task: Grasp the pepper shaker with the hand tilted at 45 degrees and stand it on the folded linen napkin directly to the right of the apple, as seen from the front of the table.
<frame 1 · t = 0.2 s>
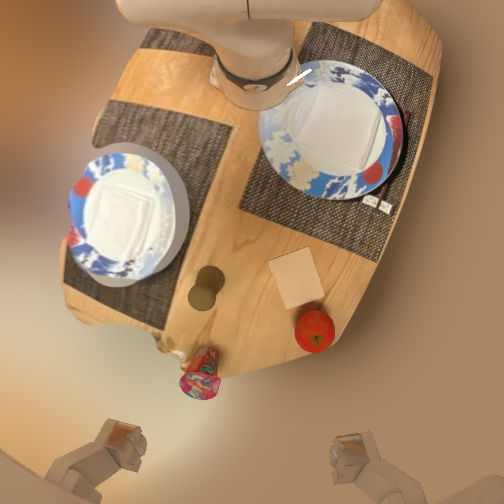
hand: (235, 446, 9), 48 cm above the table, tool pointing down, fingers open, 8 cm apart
apple: (310, 316, 60), on the table
cup: (208, 353, 64), on the table
napkin: (297, 279, 58), on the table
pepper shaker: (210, 279, 59), on the table
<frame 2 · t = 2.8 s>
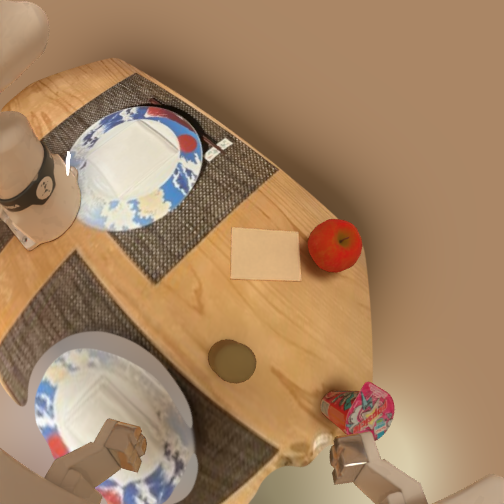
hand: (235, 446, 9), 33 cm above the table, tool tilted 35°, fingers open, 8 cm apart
apple: (318, 257, 49), on the table
cup: (331, 402, 41), on the table
napkin: (266, 254, 47), on the table
pepper shaker: (227, 358, 41), on the table
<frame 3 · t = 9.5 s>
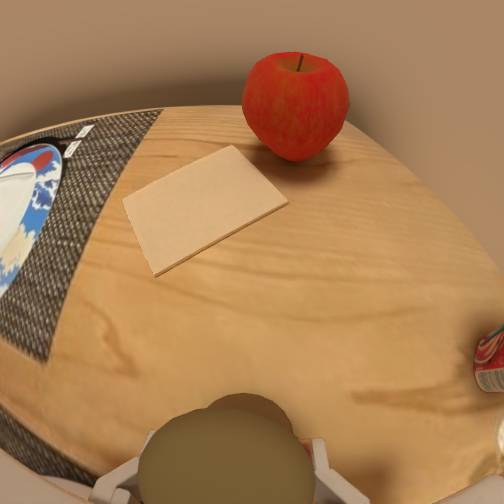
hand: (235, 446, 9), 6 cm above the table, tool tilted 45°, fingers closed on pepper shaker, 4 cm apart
apple: (290, 158, 25), on the table
cup: (487, 362, 15), on the table
napkin: (198, 201, 23), on the table
pepper shaker: (244, 437, 14), on the table, touching gripper
when the fingers open (6 cm above the table, at t = 17.8 s): pepper shaker stays where it is, resting on napkin.
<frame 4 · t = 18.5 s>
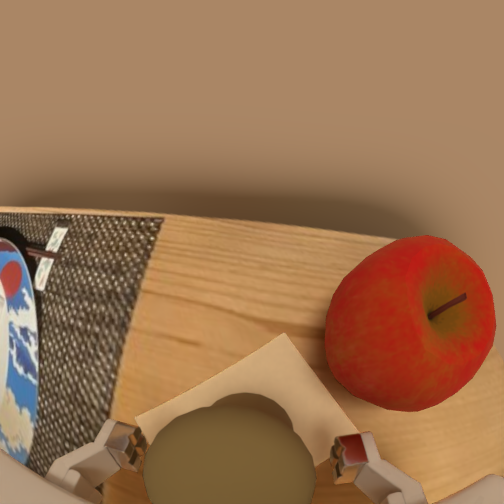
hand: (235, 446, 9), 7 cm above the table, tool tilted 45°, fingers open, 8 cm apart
apple: (364, 350, 17), on the table
napkin: (245, 435, 14), on the table
pepper shaker: (245, 436, 14), resting on napkin
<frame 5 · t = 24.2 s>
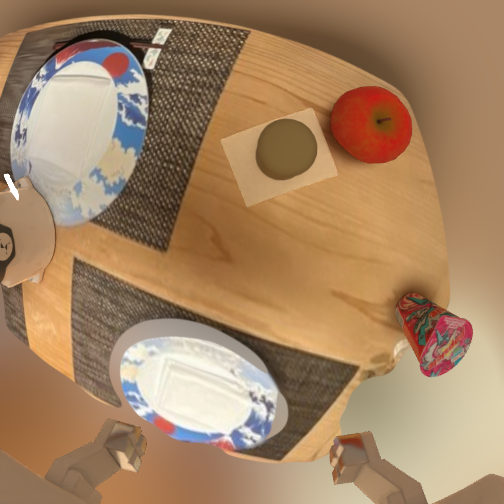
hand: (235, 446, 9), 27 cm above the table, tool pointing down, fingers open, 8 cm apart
apple: (352, 132, 30), on the table
cup: (406, 306, 36), on the table
napkin: (280, 156, 32), on the table
pepper shaker: (280, 155, 31), resting on napkin
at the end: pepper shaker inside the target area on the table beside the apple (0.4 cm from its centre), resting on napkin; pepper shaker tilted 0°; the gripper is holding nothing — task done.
